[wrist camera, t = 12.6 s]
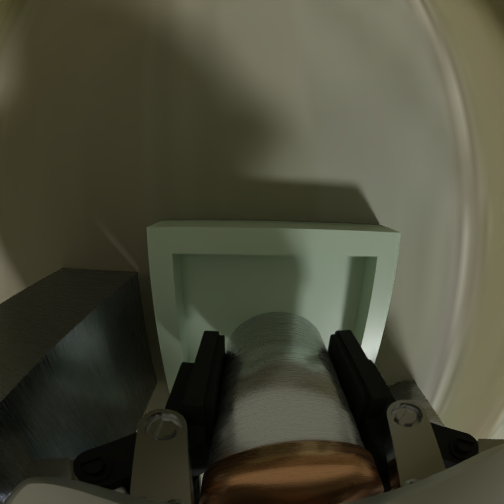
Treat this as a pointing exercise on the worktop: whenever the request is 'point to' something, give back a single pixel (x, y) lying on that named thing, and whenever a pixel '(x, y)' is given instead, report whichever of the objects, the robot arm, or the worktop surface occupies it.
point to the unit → (70, 367)
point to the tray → (267, 279)
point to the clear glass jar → (414, 398)
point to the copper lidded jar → (284, 422)
